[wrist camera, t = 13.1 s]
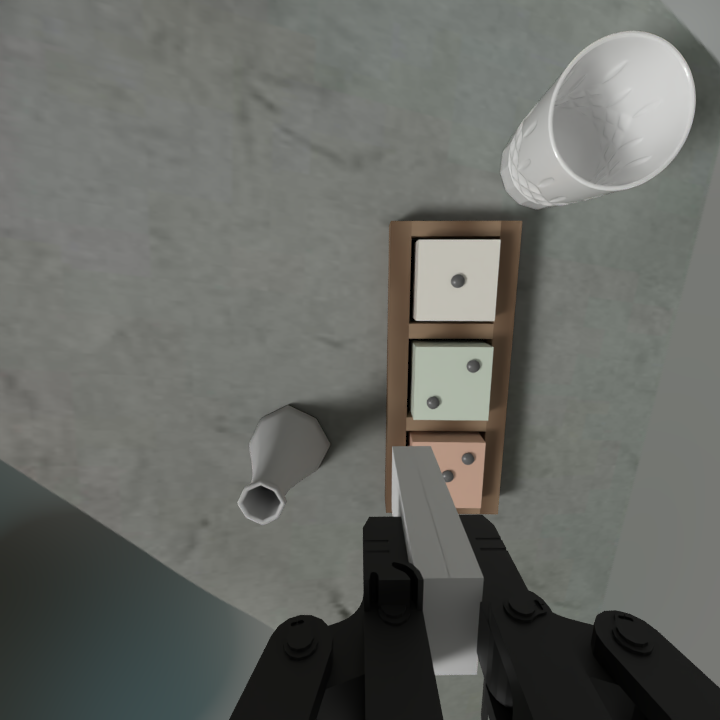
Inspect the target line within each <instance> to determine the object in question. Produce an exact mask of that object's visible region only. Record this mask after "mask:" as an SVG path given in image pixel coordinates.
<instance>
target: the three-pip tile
mask: <svg viewBox="0 0 720 720" xmlns="http://www.w3.org/2000/svg"><path fill="white" fill-rule="evenodd" d="M408 446H431V448H432V450H433V453H434V455H435V458H436V460H437V463H438V465H439V468H440V470H441V473H442V475H443V477H444V480H445V482H446V485H447V487H448V490H449V492H450V495H451V497H452V500H453V502H454V505H455V507H456V508H481V500H482V487H483V473H484V460H485V446H486V442H485V441H484V440H483V438H482V437H481V435H480V434H479V432H478V431H408Z"/></svg>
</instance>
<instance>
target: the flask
mask: <svg viewBox="0 0 720 720" xmlns="http://www.w3.org/2000/svg"><path fill="white" fill-rule="evenodd" d="M330 445H331V444H330V442H329V441H328V439H327V437H326V435H325V433H324V432H323V430H322V428H321V426H320V424H319V423H318V421H317V419H316V418H314V417H312V416H310V415H308V414H306V413H304V412H302V411H299V410H297V409H295V408H293V407H291V406H289V405H287V406H285V407H283V408H281V409H279V410H277V411H275V412H273V413H271V414H268V415H266V416H264V417H262V418H261V419H260V421H259V423H258V426H257V428H256V430H255V432H254V434H253V436H252V439H251V441H250V443H249V449H250V454H251V460H252V471H253V477H252V482H251V484H249V485H247V486H245V488H244V490H243V492H242V494H241V496H240V498H239V500H238V503H237V504H238V505H239V507H240V509H241V510H242V512H243V513H244V515H245V517H246V518H248V519H250V520H252V521H254V522H257V523H259V524H261V525H265V524H267V523H269V522H271V521H273V520H276V519H278V518H279V516H280V514H281V512H282V510H283V508H284V506H285V504H286V502H287V500H286V498H285V495H286V494H287V492H288V491H289V490H290V489H291V488H292V487H293V486H295V485H296V484H297V483H299V482H300V481H301V480H303V479H304V478H306V477H307V476H309V475H310V474H312V473H313V472H315V471H316V470H318V468H319V466H320V464H321V462H322V460H323V458H324V456H325V454H326V452H327V450H328V448H329V447H330Z"/></svg>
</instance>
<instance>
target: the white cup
mask: <svg viewBox="0 0 720 720" xmlns="http://www.w3.org/2000/svg"><path fill="white" fill-rule="evenodd" d="M695 106H696V92H695V84H694V80H693V76H692V73H691V70H690V68H689V66H688V64H687V62H686V60H685V59H684V57H683V56H682V54H681V53H680V52H679V51H678V50H677V49H676V48H675V47H674V46H673V45H672V44H671V43H669V42H668V41H666V40H665V39H663V38H661V37H659V36H657V35H654V34H651V33H648V32H643V31H623V32H618V33H614V34H611V35H608V36H605V37H603V38H601V39H599V40H597V41H595V42H594V43H592V44H590V45H589V46H588V47H586V48H585V49H584V50H582V51H581V52H580V53H579V54H578V55H577V56H576V57H575V58H574V59H573V60H572V61H571V62H570V64H569V65H568V66H567V67H566V69H565V70H564V71H563V72H562V73H561V75H560V76H559V77H558V78H557V79H556V81H555V82H554V83H553V84H552V85H551V87H550V88H549V89H548V90H547V91H546V92H545V94H544V95H543V96H542V97H541V98H540V100H539V101H538V102H537V103H536V104H535V106H534V107H533V108H532V110H531V111H530V112H529V114H528V115H527V116H526V117H525V119H524V120H523V121H522V123H521V124H520V126H519V127H518V129H517V130H516V131H515V132H514V133H513V135H512V137H511V139H510V140H509V142H508V144H507V145H506V147H505V149H504V151H503V153H502V162H501V170H500V174H501V177H502V180H503V183H504V186H505V190H506V192H507V193H508V194H509V195H510V196H511V197H512V198H513V199H514V200H515V201H516V202H517V203H518V204H520V205H523V206H526V207H529V208H533V209H536V210H538V209H543V208H549V207H554V206H563V205H567V204H572V203H576V202H580V201H585V200H589V199H592V198H596V197H600V196H603V195H607V194H610V193H614V192H618V191H621V190H625V189H629V188H632V187H635V186H638V185H640V184H643V183H645V182H646V181H648V180H650V179H652V178H653V177H655V176H656V175H657V174H659V173H660V172H661V171H662V170H664V169H665V168H666V167H667V166H668V165H669V164H670V163H671V162H672V160H673V159H674V158H675V157H676V155H677V154H678V153H679V151H680V150H681V148H682V146H683V145H684V143H685V141H686V139H687V137H688V134H689V132H690V129H691V126H692V123H693V119H694V114H695Z"/></svg>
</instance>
